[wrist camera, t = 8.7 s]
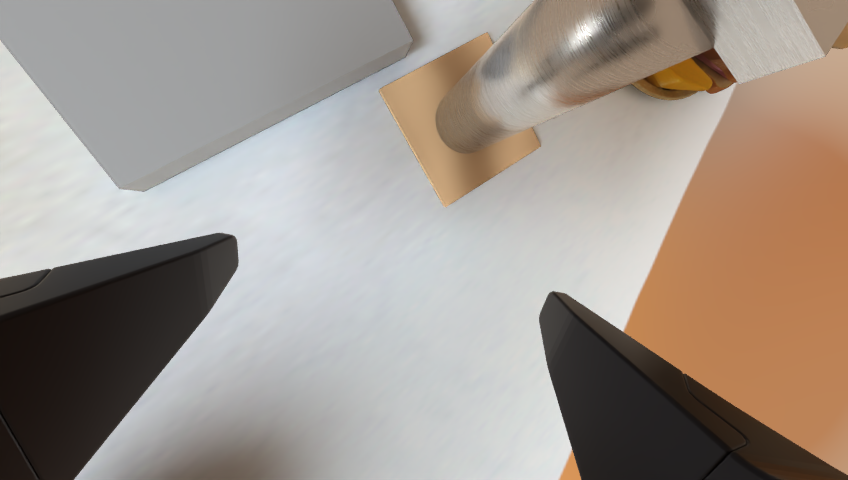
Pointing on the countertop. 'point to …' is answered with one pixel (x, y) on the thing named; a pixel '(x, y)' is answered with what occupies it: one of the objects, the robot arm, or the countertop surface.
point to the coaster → (416, 119)
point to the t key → (622, 55)
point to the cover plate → (192, 70)
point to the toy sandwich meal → (688, 78)
